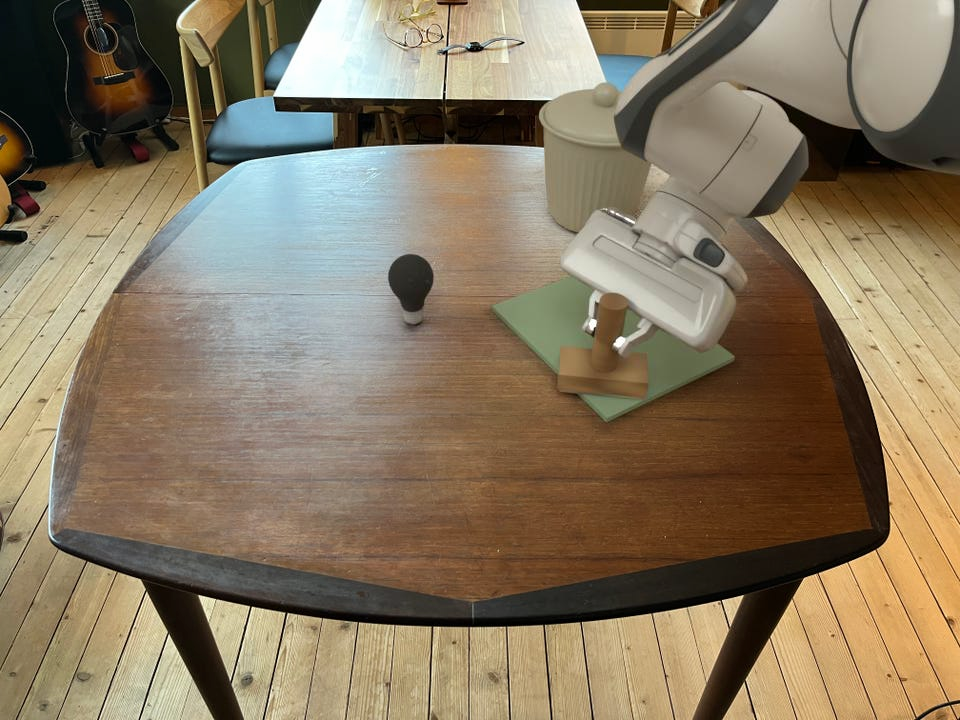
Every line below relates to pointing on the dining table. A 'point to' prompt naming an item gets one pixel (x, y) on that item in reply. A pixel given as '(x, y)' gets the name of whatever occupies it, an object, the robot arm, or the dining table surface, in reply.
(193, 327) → the dining table surface
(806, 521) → the dining table surface
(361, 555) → the dining table surface
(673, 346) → the mat
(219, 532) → the dining table surface
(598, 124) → the canister
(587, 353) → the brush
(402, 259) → the light bulb
